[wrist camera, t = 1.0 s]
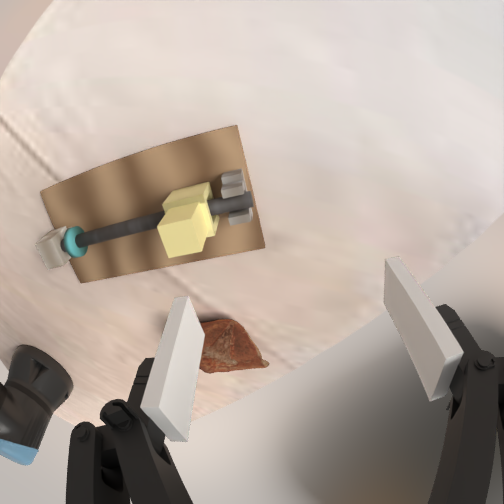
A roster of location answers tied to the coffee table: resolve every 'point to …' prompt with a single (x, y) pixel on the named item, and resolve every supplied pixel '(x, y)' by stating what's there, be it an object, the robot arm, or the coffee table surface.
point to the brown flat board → (149, 208)
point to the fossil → (228, 348)
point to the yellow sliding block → (187, 220)
